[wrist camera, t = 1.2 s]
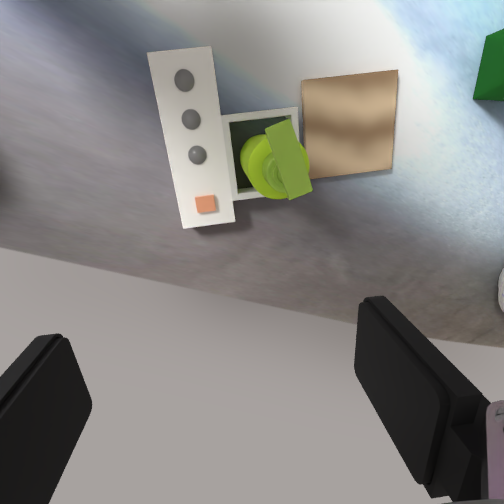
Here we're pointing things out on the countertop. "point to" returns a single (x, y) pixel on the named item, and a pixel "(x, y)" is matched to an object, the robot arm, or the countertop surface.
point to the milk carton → (491, 69)
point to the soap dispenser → (277, 163)
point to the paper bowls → (501, 290)
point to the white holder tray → (200, 135)
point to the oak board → (349, 123)
